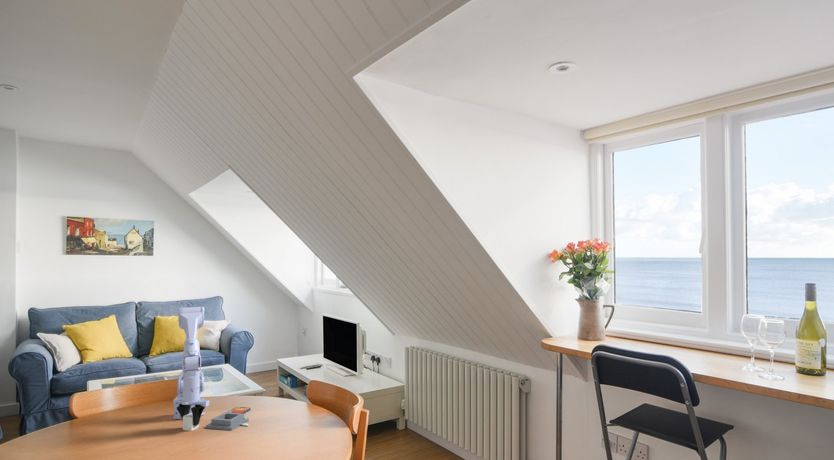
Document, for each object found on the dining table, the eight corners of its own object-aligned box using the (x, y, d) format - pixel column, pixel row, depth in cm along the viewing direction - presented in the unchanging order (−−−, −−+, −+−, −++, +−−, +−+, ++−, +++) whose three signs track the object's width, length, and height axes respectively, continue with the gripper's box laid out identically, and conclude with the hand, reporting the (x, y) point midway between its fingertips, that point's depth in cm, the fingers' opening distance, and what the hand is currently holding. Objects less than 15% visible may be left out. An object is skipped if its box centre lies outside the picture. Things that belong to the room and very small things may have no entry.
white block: (182, 430, 185) (182, 416, 185) (190, 426, 189) (190, 413, 189) (191, 430, 184) (191, 417, 184) (199, 427, 188) (199, 413, 188)
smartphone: (214, 421, 195) (214, 419, 195) (235, 409, 210) (235, 406, 210) (231, 422, 194) (231, 419, 194) (251, 410, 209) (251, 407, 209)
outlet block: (206, 428, 186) (206, 420, 186) (224, 418, 197) (224, 411, 197) (239, 431, 183) (239, 422, 183) (256, 421, 193) (256, 413, 193)
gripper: (167, 389, 185) (166, 426, 184) (200, 391, 181) (200, 429, 180) (180, 385, 192) (180, 420, 191) (213, 387, 188) (212, 423, 187)
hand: (190, 424), depth 186 cm, fingers closed on white block, 4 cm apart
